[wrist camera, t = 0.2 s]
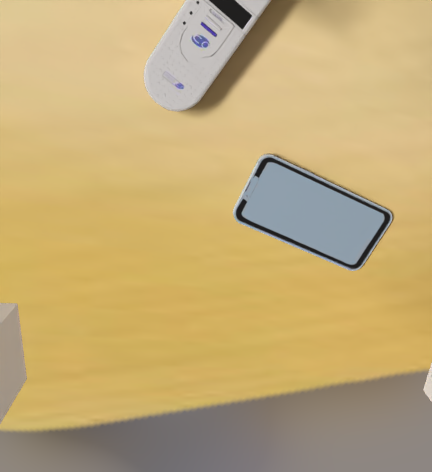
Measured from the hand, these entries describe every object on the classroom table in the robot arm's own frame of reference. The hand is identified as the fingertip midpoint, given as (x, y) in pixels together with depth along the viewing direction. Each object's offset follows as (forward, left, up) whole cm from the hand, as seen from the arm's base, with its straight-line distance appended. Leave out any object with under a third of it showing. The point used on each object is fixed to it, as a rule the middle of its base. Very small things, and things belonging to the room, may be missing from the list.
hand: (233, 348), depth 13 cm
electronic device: (-12, -1, -28) cm, 31 cm away
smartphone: (+4, +10, -28) cm, 30 cm away
